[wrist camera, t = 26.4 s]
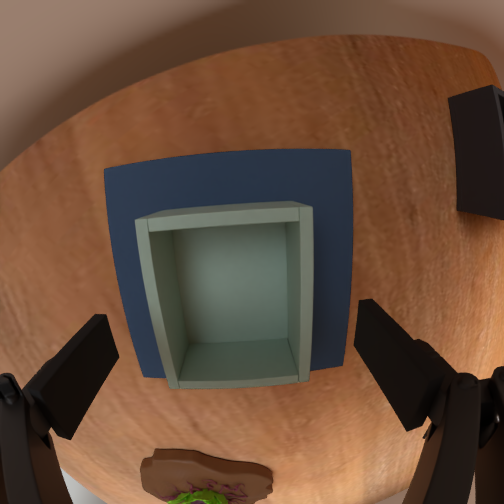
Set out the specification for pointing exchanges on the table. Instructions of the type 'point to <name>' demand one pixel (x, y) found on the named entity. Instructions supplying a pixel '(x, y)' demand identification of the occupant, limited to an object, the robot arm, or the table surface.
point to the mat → (237, 192)
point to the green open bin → (230, 292)
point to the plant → (203, 479)
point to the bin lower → (479, 150)
